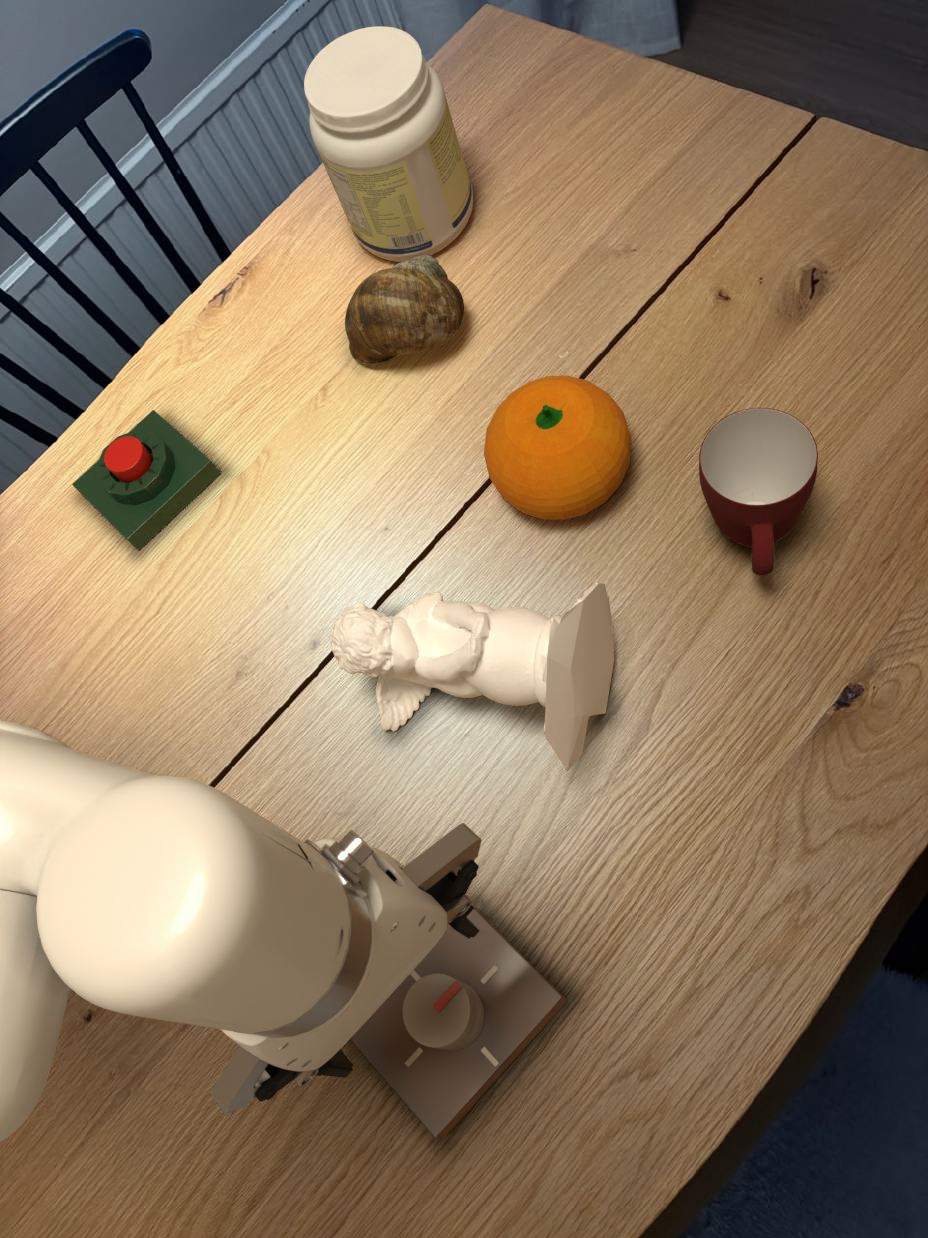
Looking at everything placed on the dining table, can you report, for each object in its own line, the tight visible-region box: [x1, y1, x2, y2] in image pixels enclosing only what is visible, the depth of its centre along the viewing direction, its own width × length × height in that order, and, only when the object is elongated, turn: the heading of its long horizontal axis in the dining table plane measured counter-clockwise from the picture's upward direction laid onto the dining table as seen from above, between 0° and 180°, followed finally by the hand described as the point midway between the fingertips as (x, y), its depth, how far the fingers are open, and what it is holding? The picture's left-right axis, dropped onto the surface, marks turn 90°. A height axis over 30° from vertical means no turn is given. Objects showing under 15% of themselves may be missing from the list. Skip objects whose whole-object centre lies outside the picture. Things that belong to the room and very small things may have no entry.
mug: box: [698, 407, 819, 577], centre depth 80 cm, size 11×8×10 cm
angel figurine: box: [329, 581, 615, 772], centre depth 80 cm, size 14×20×12 cm
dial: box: [403, 974, 484, 1051], centre depth 71 cm, size 4×4×5 cm
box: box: [72, 409, 222, 551], centre depth 98 cm, size 10×9×4 cm
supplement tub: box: [303, 25, 474, 263], centre depth 98 cm, size 12×12×17 cm
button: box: [104, 436, 152, 482], centre depth 96 cm, size 4×4×2 cm
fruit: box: [483, 375, 632, 520], centre depth 86 cm, size 12×12×10 cm
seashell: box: [344, 255, 465, 366], centre depth 97 cm, size 11×9×8 cm
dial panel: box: [349, 903, 568, 1139], centre depth 74 cm, size 12×9×3 cm
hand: (395, 982), depth 60 cm, fingers open, 9 cm apart
